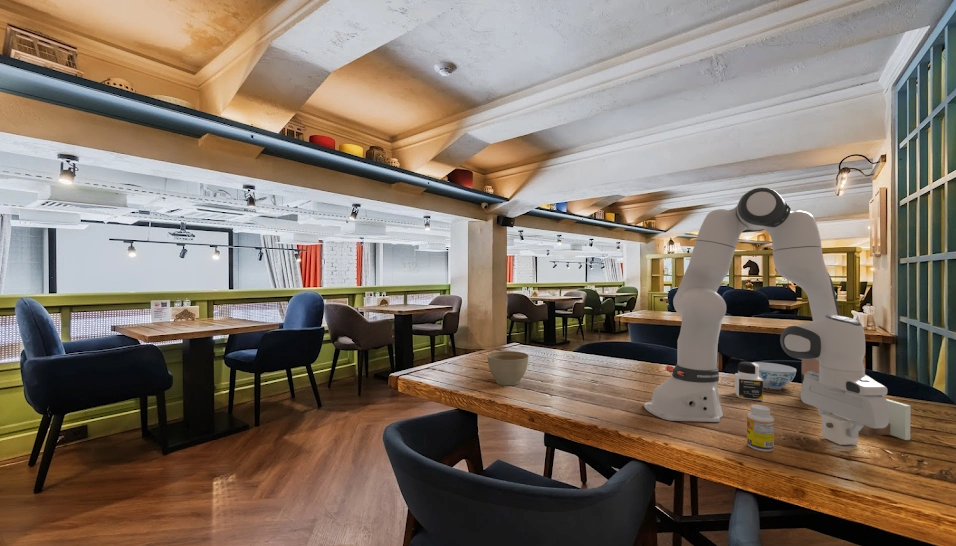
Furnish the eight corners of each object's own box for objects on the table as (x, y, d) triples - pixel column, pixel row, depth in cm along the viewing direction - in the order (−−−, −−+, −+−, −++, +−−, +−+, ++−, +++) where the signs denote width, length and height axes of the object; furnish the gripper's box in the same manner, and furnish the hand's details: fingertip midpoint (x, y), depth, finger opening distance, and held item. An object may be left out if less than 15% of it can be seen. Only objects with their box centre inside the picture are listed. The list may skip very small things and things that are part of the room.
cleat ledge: (867, 435, 109) (867, 424, 109) (827, 420, 120) (827, 410, 120) (890, 434, 110) (890, 423, 110) (848, 419, 121) (848, 409, 121)
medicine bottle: (738, 398, 141) (739, 363, 141) (734, 392, 148) (734, 359, 148) (763, 401, 138) (763, 365, 138) (757, 395, 145) (758, 361, 145)
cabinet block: (837, 444, 103) (837, 421, 103) (818, 436, 108) (819, 414, 108) (857, 444, 103) (858, 420, 103) (838, 436, 108) (839, 413, 108)
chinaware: (748, 379, 166) (748, 360, 165) (795, 385, 157) (795, 365, 157) (746, 388, 153) (746, 367, 153) (797, 395, 145) (797, 373, 144)
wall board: (905, 440, 107) (905, 405, 107) (837, 415, 125) (837, 386, 125) (910, 439, 107) (910, 405, 107) (841, 415, 125) (841, 386, 125)
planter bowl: (489, 376, 169) (489, 350, 168) (528, 378, 166) (528, 351, 166) (484, 387, 153) (484, 358, 152) (528, 389, 150) (528, 360, 150)
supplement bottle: (748, 441, 106) (748, 401, 106) (774, 447, 102) (775, 406, 102) (745, 448, 102) (745, 407, 101) (772, 454, 98) (773, 412, 98)
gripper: (794, 369, 115) (793, 417, 116) (871, 390, 95) (869, 449, 95) (815, 368, 116) (813, 417, 116) (895, 390, 96) (893, 448, 96)
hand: (839, 432), depth 105 cm, fingers closed on cabinet block, 5 cm apart
